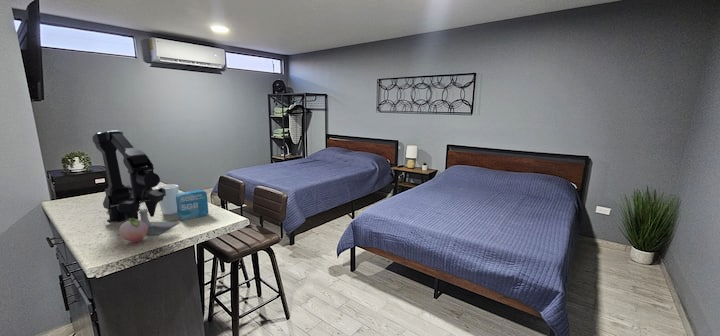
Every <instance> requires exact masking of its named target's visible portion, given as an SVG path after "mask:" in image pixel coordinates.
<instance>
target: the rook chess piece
mask: <svg viewBox="0 0 720 336" xmlns="http://www.w3.org/2000/svg"><path fill="white" fill-rule="evenodd" d="M138 214H139V216H140V221H143V222H145V223H146V224H147V226H148V228H151V226H152V225H151V222H152V221H150V220H149V212H148V209H147V208H143V209H142V208H140V210H139V211H138Z"/></svg>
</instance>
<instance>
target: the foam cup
mask: <svg viewBox="0 0 720 336" xmlns="http://www.w3.org/2000/svg"><path fill="white" fill-rule="evenodd" d="M160 188H164V189H165V192H166V193H165V194H166V196H164V198H163V200H162V201H160V202H158V204H159V206H160V210H161V213H162V215H166V216H167V215H172V214H177V204H176V195H177V194H178V193H179V190H180V189H179V185H178V184H173V183H172V184H163V185H157V186H155V189H154V190H156V189H157V190H158V189H160Z"/></svg>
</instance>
